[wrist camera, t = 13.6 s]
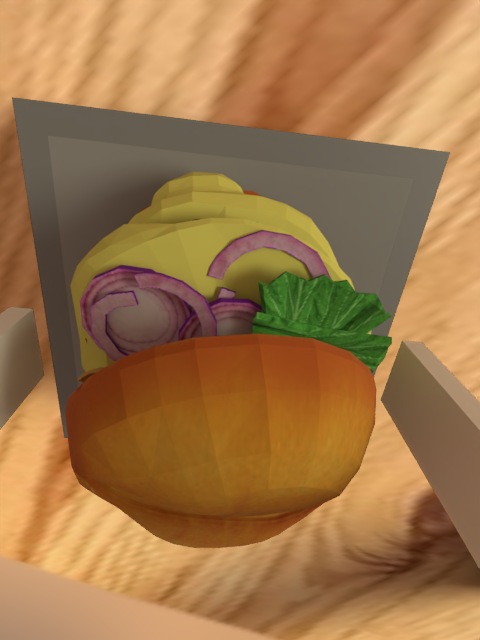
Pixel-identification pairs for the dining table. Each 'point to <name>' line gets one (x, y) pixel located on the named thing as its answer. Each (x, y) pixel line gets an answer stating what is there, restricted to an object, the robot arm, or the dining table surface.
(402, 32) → the dining table surface
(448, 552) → the dining table surface
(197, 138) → the tray
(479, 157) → the dining table surface
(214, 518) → the cheeseburger
